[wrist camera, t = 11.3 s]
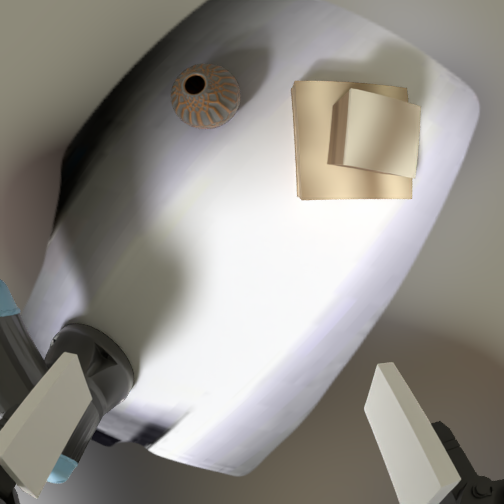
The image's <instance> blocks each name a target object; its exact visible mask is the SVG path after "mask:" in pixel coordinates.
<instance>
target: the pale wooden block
mask: <svg viewBox="0 0 504 504" xmlns="http://www.w3.org/2000/svg"><path fill="white" fill-rule="evenodd" d="M420 115H421V106H418V105H415V104H411V103H408V102H405V101H401V100H398V99H394V98H390V97H387V96H383V95H379V94H375V93H371V92H367V91H362V90H358V89H353V88H351V89H350V90H349V92H348V93H346V94H345V95H344V96H343V97H342V98H341V99H339V100H338V101H337V102H336V103H335V104H334V105H333V107H332V119H331V130H330V141H329V150H328V160H327V164H329V165H335V166H341V167H347V168H353V169H359V170H365V171H370V172H375V173H380V174H387V175H396V176H404V177H409V178H415V175H416V166H417V157H418V146H419V133H420Z"/></svg>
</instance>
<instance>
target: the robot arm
mask: <svg viewBox="0 0 504 504" xmlns="http://www.w3.org/2000/svg"><path fill="white" fill-rule="evenodd" d="M133 383H134V375H133V370H132V367H131V365H130V363H129V361H128V359H127V357H126V356H125V354H124V353H123V351H122V350H121V349H120V348H119V347H118V345H117V344H116V343H115V342H114V341H112V340H111V339H110V338H109V337H108V336H106V335H105V334H103V333H102V332H100V331H98V330H97V329H94V328H92V327H90V326H87V325H82V324H71V325H67V326H65V327H64V328H62V329H61V330H60V331H59V332H58V333H57V334H56V335H55V336H54V338H53V340H52V342H51V344H50V348H49V350H48V352H47V354H46V357H45V360H43V358H42V356H41V354H40V353H39V351H38V349H37V347H36V345H35V344H34V342H33V340H32V338H31V336H30V334H29V332H28V330H27V328H26V326H25V324H24V321H23V319H22V317H21V315H20V309H19V308H18V307H17V306H16V304H15V302H14V300H13V298H12V296H11V294H10V292H9V289H8V287H7V285H6V284H5V283H4V282H3V281H2V280H0V504H20V503H19V499H18V494H17V492H16V490H15V488H14V487H15V485H16V484H17V485H18V486H19V487H20V488H21V489H22V490H23V491H24V492H25V493H27V494H29V495H31V496H33V497H35V498H38V497H39V495H40V493H41V491H42V489H43V487H44V485H45V483H46V481H48V482H51V483H63V482H65V481H66V480H67V479H68V477H69V476H70V475H71V473H72V471H73V470H74V468H75V467H77V466H78V463H79V461H80V459H81V457H82V455H83V453H84V451H85V449H86V447H87V445H88V443H89V441H90V439H91V438H92V436H93V434H94V432H95V430H96V428H97V426H98V424H99V423H100V421H101V419H102V417H103V416H104V415H105V414H106V413H108V412H109V411H110V410H111V409H113V408H114V407H115V406H116V405H118V404H120V403H121V402H123V401H124V400H125V399H126V397H127V396H128V394H129V392H130V390H131V389H132V386H133ZM364 411H365V413H366V415H367V418H368V420H369V423H370V425H371V428H372V430H373V433H374V436H375V438H376V440H377V443H378V446H379V448H380V451H381V454H382V456H383V459H384V461H385V464H386V467H387V469H388V472H389V474H390V477H391V480H392V483H393V486H394V488H395V491H396V494H397V497H398V500H399V502H400V504H504V479H503V480H497V481H491V480H490V479H489V478H487V477H485V476H478V475H477V473H476V472H475V470H474V469H473V467H472V465H471V463H470V462H469V460H468V458H467V457H466V455H465V453H464V451H463V450H462V449H461V447H460V445H459V443H458V441H457V440H455V437H454V435H453V434H452V432H451V430H450V429H449V428H448V427H447V426H445V425H444V424H443V423H442V422H441V421H439V422H435V423H431V424H430V422H429V420H428V419H427V417H426V415H425V413H424V412H423V410H422V408H421V407H420V405H419V404H418V402H417V400H416V398H415V397H414V395H413V394H412V392H411V390H410V389H409V387H408V386H407V384H406V382H405V381H404V379H403V377H402V376H401V374H400V373H399V371H398V369H397V368H396V367H395V365H394V363H393V362H391V363H382V364H377V367H376V370H375V374H374V378H373V381H372V384H371V388H370V391H369V395H368V398H367V401H366V404H365V407H364Z"/></svg>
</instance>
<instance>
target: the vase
mask: <svg viewBox="0 0 504 504" xmlns="http://www.w3.org/2000/svg"><path fill="white" fill-rule="evenodd" d="M171 102H172V106H173V109H174V111H175V113H176V114H177V116H178V117H179V118H180V119H181V120H182V121H183V122H185V123H186V124H188V125H190V126H192V127H195V128H200V129H212V128H216V127H219V126H221V125H223V124H225V123H226V122H228V121H229V120H230V119H231V118H232V117H233V116H234V114H235V113H236V111H237V109H238V107H239V104H240V88H239V85H238V83H237V81H236V79H235V77H234V76H233V75H232V74H231V73H230V72H229V71H228V70H226V69H225V68H223V67H221V66H218V65H215V64H208V63H205V64H197V65H194V66H191V67H189V68H188V69H186V70H185V71H183V72H182V73H181V74H180V75H179V76H178V77H177V79H176V80H175V82H174V84H173V87H172V91H171Z"/></svg>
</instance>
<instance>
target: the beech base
mask: <svg viewBox="0 0 504 504" xmlns="http://www.w3.org/2000/svg"><path fill="white" fill-rule="evenodd" d="M351 88H353V89H358V90H362V91H367V92H371V93H375V94H379V95H383V96H387V97H390V98H394V99H398V100H401V101H405V102H408V94H407V88H403V87H395V86H387V85H378V84H367V83H354V82H337V81H295V82H294V84H293V87H292V88H291V97H292V110H293V125H294V141H295V160H296V181H297V197H299V198H300V199H301V200H330V199H412V178H409V177H404V176H396V175H387V174H380V173H375V172H370V171H365V170H359V169H353V168H347V167H341V166H335V165H329V164H327V160H328V150H329V141H330V130H331V119H332V107H333V105H334V104H335V103H336V102H337V101H338V100H339V99H341V98H342V97H343V96H344V95H345V94H346V93H348V92H349V90H350V89H351Z"/></svg>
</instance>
